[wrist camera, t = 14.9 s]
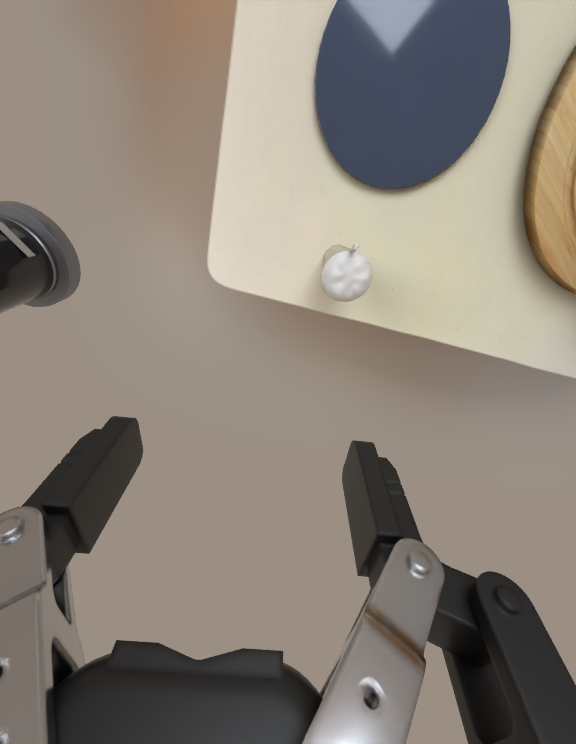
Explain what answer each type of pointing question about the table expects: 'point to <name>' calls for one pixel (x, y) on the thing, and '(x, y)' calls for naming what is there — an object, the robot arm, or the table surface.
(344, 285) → the milkshake
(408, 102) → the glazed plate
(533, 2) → the table surface
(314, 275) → the table surface
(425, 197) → the table surface
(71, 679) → the robot arm
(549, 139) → the wooden plate
